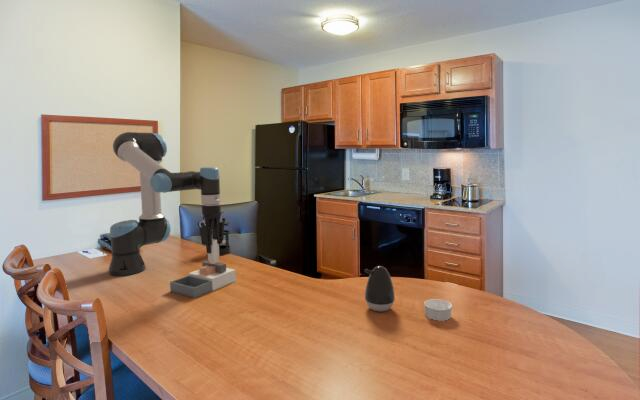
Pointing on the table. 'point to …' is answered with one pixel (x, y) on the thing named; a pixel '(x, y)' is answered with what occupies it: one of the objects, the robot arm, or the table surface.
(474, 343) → the table surface
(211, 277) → the plate
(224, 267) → the scraper
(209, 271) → the tile
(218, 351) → the table surface
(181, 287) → the box
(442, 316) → the ramekin
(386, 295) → the pump dispenser
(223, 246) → the french press
